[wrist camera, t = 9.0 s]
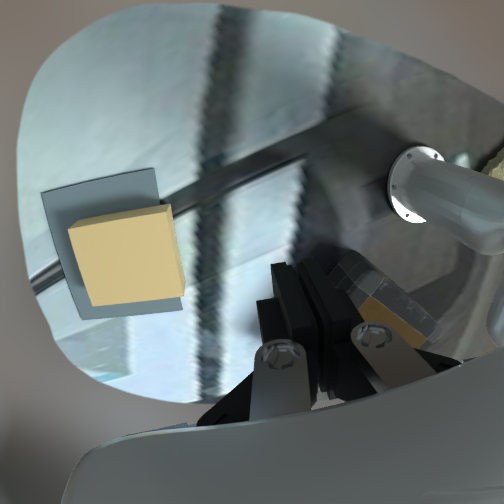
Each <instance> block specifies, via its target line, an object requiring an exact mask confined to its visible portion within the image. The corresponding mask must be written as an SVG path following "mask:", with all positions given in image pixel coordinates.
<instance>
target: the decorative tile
mask: <svg viewBox="0 0 504 504" xmlns="http://www.w3.org/2000/svg"><path fill="white" fill-rule="evenodd" d="M481 173H483V174H486V175H489V176H492V177H495V178H497V179H500V180H503V181H504V147H503V148H502V150H500V152H498V153H497V155H496V156H495V158H493V159H491V160H489V162H488V163H487V165H486V166H485V167H484V169H483V170H482V171H481Z"/></svg>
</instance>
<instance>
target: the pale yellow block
mask: <svg viewBox="0 0 504 504" xmlns="http://www.w3.org/2000/svg"><path fill="white" fill-rule="evenodd" d="M68 233H69V236H70V240H71V243H72V247H73V250H74V253H75V257H76V260H77V263H78V266H79V269H80V272H81V275H82V278H83V281H84V284H85V287H86V290H87V292H88V295H89V298H90V301H91V303H92V306H103V305H113V304H122V303H131V302H140V301H149V300H158V299H166V298H174V297H182V296H184V290H185V283H186V282H185V277H184V273H183V268H182V263H181V258H180V253H179V248H178V243H177V238H176V233H175V227H174V222H173V216H172V211H171V205H170V204H164V205H158V206H152V207H146V208H140V209H134V210H128V211H123V212H117V213H112V214H106V215H101V216H96V217H91V218H86V219H81V220H78V221H77V222H75V223H74V224H73V225H72V226H71V227H70V228H69V229H68Z"/></svg>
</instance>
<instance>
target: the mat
mask: <svg viewBox="0 0 504 504" xmlns="http://www.w3.org/2000/svg"><path fill="white" fill-rule="evenodd" d="M42 198H43V202H44V206H45V210H46V214H47V218H48V222H49V226H50V229H51V233H52V236H53V240H54V243H55V246H56V249H57V253H58V256H59V259H60V262H61V265H62V268H63V271H64V274H65V277H66V280H67V282H68V285H69V288H70V290H71V293H72V296H73V298H74V301H75V304H76V306H77V309H78V311H79V313H80V316H81V318H82V320H90V319H102V318H113V317H124V316H134V315H144V314H153V313H162V312H171V311H180V310H183V308H182V304H181V300H180V297H174V298H166V299H158V300H149V301H140V302H131V303H122V304H113V305H103V306H92V303H91V301H90V298H89V295H88V292H87V290H86V287H85V284H84V281H83V278H82V275H81V272H80V269H79V266H78V263H77V260H76V257H75V253H74V250H73V247H72V243H71V240H70V236H69V233H68V229H69V228H70V227H71V226H72V225H73V224H74V223H75V222H77V221H78V220H81V219H86V218H91V217H96V216H101V215H106V214H112V213H117V212H123V211H128V210H134V209H140V208H146V207H152V206H158V205H160V200H159V194H158V189H157V183H156V177H155V170H154V168H153V169H147V170H142V171H137V172H131V173H126V174H121V175H116V176H112V177H107V178H102V179H98V180H93V181H89V182H85V183H81V184H76V185H72V186H68V187H64V188H60V189H56V190H53V191H49V192H45V193H42Z"/></svg>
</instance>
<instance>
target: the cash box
mask: <svg viewBox="0 0 504 504" xmlns="http://www.w3.org/2000/svg"><path fill="white" fill-rule="evenodd" d="M327 277H328V279H329V280H330V282H331V284H332V285H333V287H334V288H335V287H340V286H341V287H343V288H344V290H345V291H346V293H347V294H348V296H349V297H350V299H351V300H352V302H353V304H354V305H355V307H356V308H357V310H358V311H359V313H360V314H361V316H362V318H363V319H364V321H365V322H368V321H378V322H383V323H385V324H388V325H390V326H391V327H392V328H394V329H395V330H396V331H397V332H398V333H399V334H400V335H401V336H402V337H403V338H404V339H405V340H406V341H407V342H408V344H409V345H410V346H411V347H412V348H416V349H419V350H423V351H426V350H427V349H428V348H429V347H430V346H431V345H432V344H433V342H434V341H435V340H436V339H437V338H438V337H439V336H440V334H441V332H442V330H441V326H440V325H439V324H438V323H437V322H436V321H435V320H434V319H433V317H432V316H431V315H430V314H429V313H428V312H427V311H426V310H425V309H424V308H423V307H422V306H421V305H419V304H418V303H417V302H416V301H415V300H414V299H413V298H412V297H410V296H409V295H408V294H407V293H406V292H405V291H404V290H402V289H401V288H400V287H399V286H398V285H397V284H395V283H394V282H393V281H392V280H391V279H390V278H388V277H387V276H386V275H385V274H384V273H383V272H381V271H380V270H379V269H378V268H377V267H375V266H374V265H373V264H372V263H371V262H369V261H368V260H367V259H366V258H365V257H363V256H362V255H361V254H360V253H357V252H353V251H351V252H349V253H348V254H346V255H345V256H344V257H343V258H342V259H341V261H340V262H339V263H338V264H337V265H336V267H335V268H334V269H333V270H332V271H331V272H330V274H329V275H328V276H327Z"/></svg>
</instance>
